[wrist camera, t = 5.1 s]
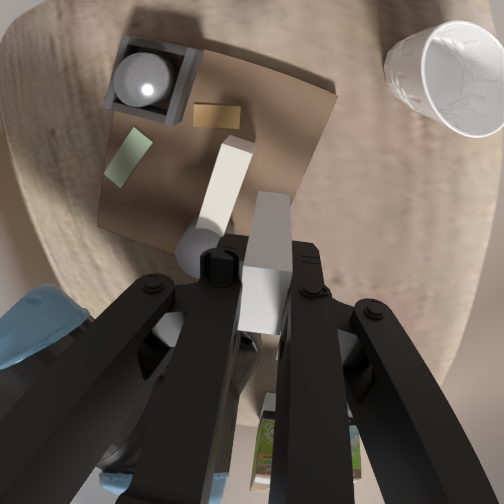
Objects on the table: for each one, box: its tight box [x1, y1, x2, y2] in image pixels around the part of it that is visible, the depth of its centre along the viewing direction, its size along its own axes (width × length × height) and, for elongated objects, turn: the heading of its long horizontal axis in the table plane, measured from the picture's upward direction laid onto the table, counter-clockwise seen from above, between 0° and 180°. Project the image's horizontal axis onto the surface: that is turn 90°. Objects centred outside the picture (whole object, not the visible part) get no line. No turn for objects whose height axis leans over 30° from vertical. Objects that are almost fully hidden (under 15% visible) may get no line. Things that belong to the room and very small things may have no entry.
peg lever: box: [175, 135, 257, 279], centre depth 27 cm, size 12×4×5 cm, turn 161°
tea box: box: [250, 392, 361, 493], centre depth 42 cm, size 15×10×15 cm, turn 85°
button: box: [114, 53, 178, 107], centre depth 22 cm, size 4×4×3 cm
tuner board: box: [97, 35, 338, 255], centre depth 27 cm, size 20×18×4 cm
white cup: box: [384, 20, 504, 138], centre depth 18 cm, size 8×8×10 cm
